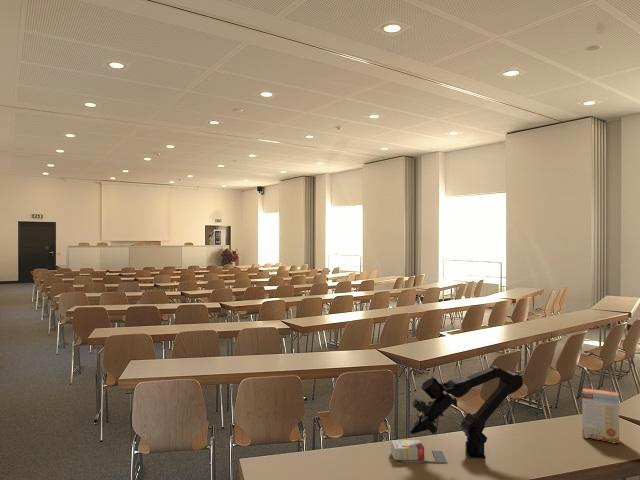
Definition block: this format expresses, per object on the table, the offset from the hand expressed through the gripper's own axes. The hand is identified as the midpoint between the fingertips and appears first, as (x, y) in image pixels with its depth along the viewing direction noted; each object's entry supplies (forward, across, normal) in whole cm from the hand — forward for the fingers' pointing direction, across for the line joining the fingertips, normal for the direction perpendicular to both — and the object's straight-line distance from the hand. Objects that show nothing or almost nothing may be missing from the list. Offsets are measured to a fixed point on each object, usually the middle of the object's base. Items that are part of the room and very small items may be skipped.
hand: (411, 433), depth 200 cm
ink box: (+1, 0, +8) cm, 8 cm away
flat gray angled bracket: (+3, 0, +10) cm, 10 cm away
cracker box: (-54, -23, +67) cm, 89 cm away
